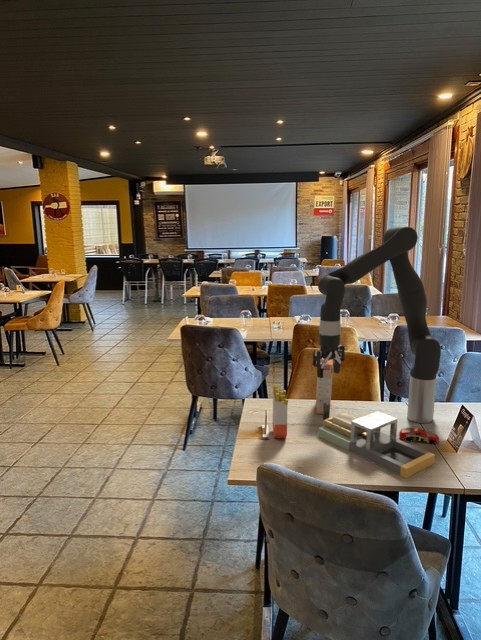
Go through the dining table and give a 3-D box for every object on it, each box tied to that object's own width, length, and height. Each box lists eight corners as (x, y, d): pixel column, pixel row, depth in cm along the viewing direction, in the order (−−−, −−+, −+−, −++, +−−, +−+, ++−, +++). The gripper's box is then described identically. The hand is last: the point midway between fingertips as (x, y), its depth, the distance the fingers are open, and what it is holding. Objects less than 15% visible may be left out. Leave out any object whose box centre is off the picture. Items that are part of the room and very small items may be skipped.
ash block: (343, 422, 176) (343, 412, 175) (365, 432, 168) (366, 421, 167) (332, 427, 172) (332, 416, 171) (354, 436, 164) (354, 426, 163)
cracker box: (330, 415, 190) (332, 364, 186) (315, 414, 191) (316, 363, 187) (331, 402, 203) (333, 355, 199) (316, 401, 204) (318, 354, 200)
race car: (438, 439, 170) (439, 429, 169) (439, 446, 165) (440, 435, 164) (399, 434, 174) (399, 424, 173) (399, 441, 169) (400, 430, 168)
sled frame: (332, 414, 182) (333, 399, 181) (381, 435, 165) (383, 419, 163) (314, 421, 176) (314, 405, 175) (363, 443, 159) (364, 426, 157)
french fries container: (284, 428, 178) (285, 382, 174) (287, 441, 167) (289, 392, 164) (272, 428, 178) (273, 382, 174) (274, 441, 167) (275, 392, 164)
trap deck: (346, 425, 181) (346, 417, 180) (434, 463, 152) (434, 454, 152) (318, 435, 172) (318, 428, 171) (405, 478, 144) (406, 469, 143)
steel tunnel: (376, 431, 169) (377, 411, 167) (396, 439, 162) (397, 418, 161) (350, 441, 160) (351, 420, 159) (369, 450, 154) (371, 429, 153)
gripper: (335, 327, 179) (334, 369, 182) (308, 333, 171) (307, 376, 174) (351, 331, 173) (349, 374, 176) (323, 337, 165) (322, 382, 168)
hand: (328, 375), depth 175 cm, fingers open, 8 cm apart
